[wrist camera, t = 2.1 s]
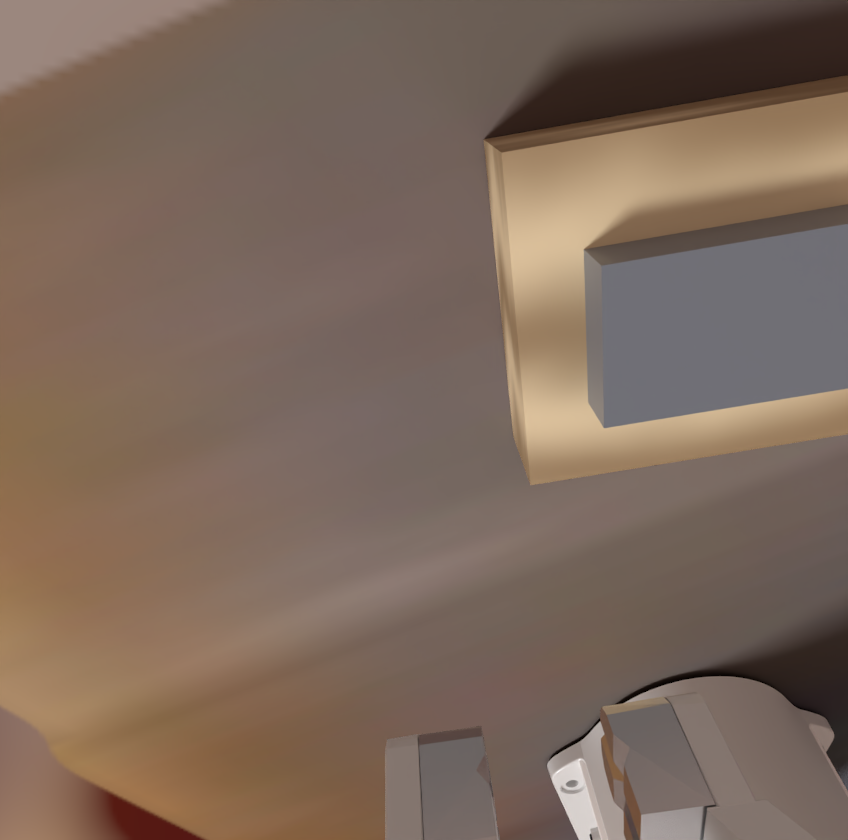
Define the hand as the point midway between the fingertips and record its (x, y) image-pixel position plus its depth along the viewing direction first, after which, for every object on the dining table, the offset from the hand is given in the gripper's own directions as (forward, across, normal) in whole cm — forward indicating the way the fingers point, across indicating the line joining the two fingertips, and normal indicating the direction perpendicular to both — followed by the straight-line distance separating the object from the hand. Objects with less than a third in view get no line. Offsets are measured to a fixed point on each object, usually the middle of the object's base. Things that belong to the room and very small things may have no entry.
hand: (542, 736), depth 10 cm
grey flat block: (+15, -10, 0) cm, 18 cm away
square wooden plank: (+19, -10, 0) cm, 22 cm away
